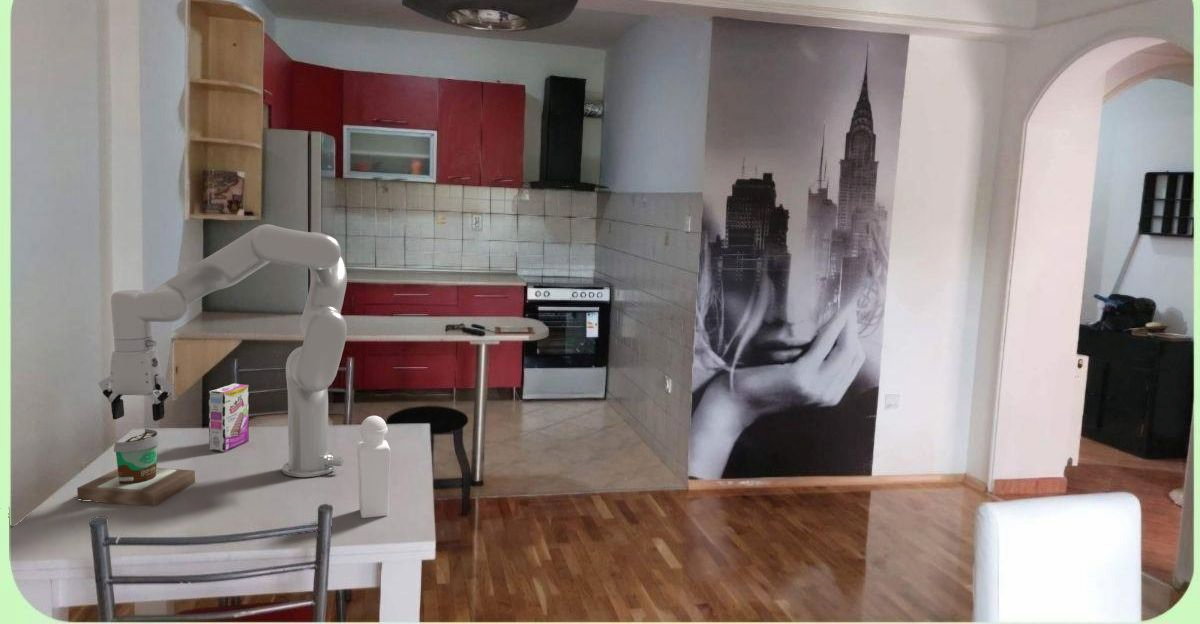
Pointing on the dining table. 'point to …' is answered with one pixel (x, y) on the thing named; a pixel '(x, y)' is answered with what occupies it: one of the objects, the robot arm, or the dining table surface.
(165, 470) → the plinth
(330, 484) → the dining table surface
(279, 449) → the dining table surface
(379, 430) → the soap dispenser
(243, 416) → the candy bar box
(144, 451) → the food container
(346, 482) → the dining table surface
